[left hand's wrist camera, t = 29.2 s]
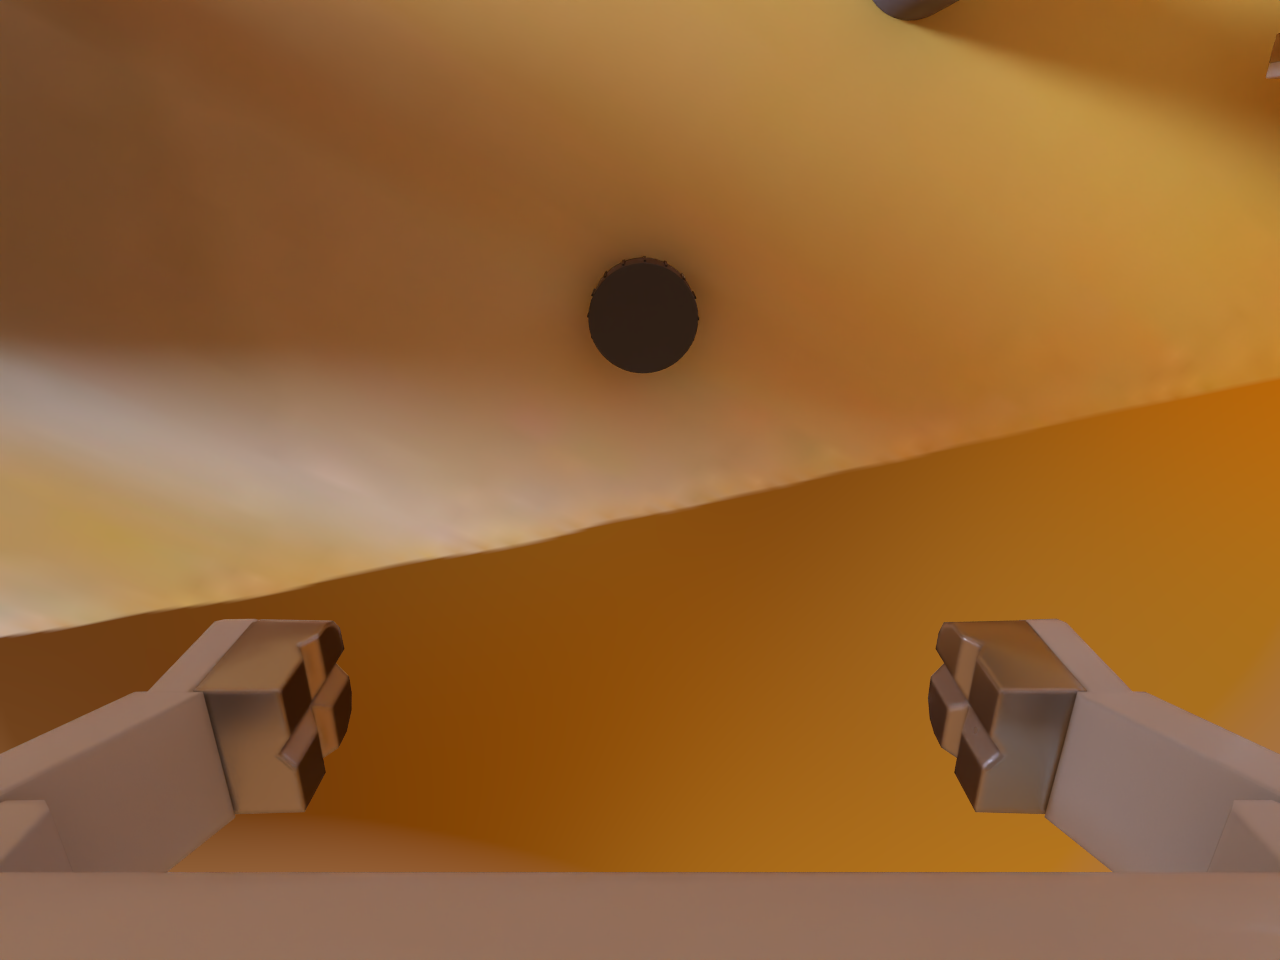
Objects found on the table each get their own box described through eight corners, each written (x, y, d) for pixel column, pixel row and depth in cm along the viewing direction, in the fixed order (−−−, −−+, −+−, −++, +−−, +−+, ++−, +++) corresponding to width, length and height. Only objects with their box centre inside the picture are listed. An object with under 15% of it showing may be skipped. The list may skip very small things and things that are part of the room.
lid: (627, 381, 38) (626, 394, 36) (570, 294, 37) (565, 301, 35) (714, 327, 37) (719, 337, 35) (660, 235, 36) (661, 239, 34)
